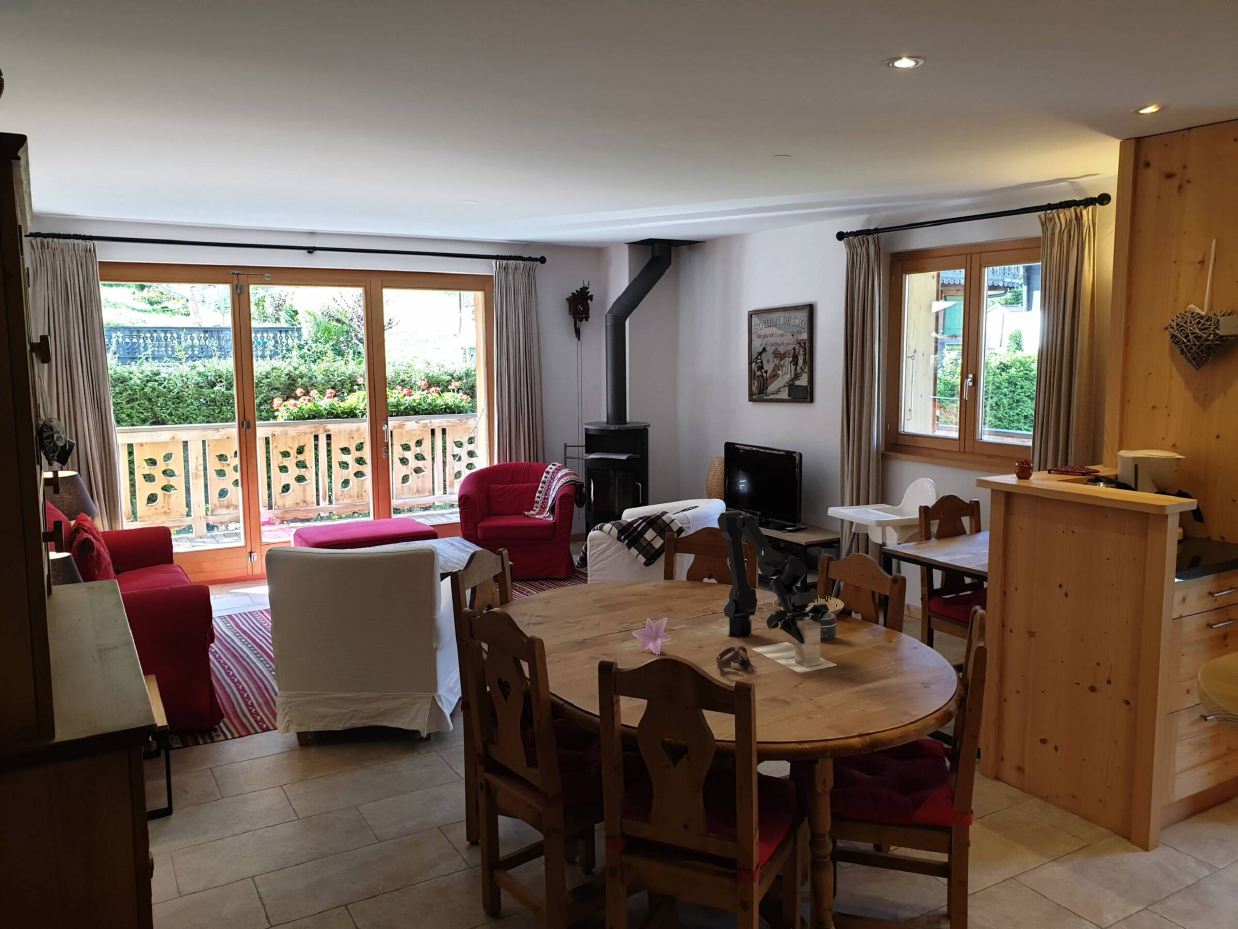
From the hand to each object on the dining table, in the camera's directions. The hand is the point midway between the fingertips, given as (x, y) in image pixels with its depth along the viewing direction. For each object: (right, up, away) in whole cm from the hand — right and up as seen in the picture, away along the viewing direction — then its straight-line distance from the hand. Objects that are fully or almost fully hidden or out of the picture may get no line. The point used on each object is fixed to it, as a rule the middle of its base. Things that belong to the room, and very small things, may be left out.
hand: (810, 642), depth 255 cm
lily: (-44, -7, +20) cm, 49 cm away
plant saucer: (+11, -1, +57) cm, 59 cm away
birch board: (-3, -7, +8) cm, 12 cm away
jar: (+9, -5, +27) cm, 29 cm away
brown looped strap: (-21, -9, 0) cm, 23 cm away
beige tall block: (0, -7, +2) cm, 7 cm away
